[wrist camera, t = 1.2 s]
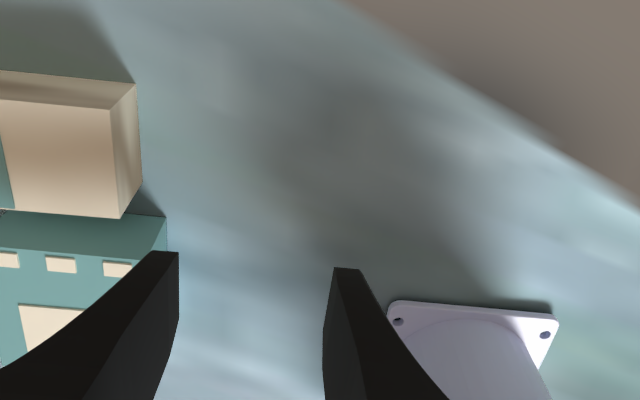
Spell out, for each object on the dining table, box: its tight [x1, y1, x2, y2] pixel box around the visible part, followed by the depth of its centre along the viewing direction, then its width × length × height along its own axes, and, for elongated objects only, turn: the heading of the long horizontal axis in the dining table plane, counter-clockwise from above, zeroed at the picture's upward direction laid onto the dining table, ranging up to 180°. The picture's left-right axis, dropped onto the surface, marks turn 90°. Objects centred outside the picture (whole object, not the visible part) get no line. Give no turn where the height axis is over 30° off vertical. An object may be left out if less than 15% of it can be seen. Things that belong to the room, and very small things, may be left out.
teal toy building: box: [0, 210, 167, 366], centre depth 21 cm, size 6×6×3 cm
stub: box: [0, 70, 143, 219], centre depth 18 cm, size 4×5×3 cm
